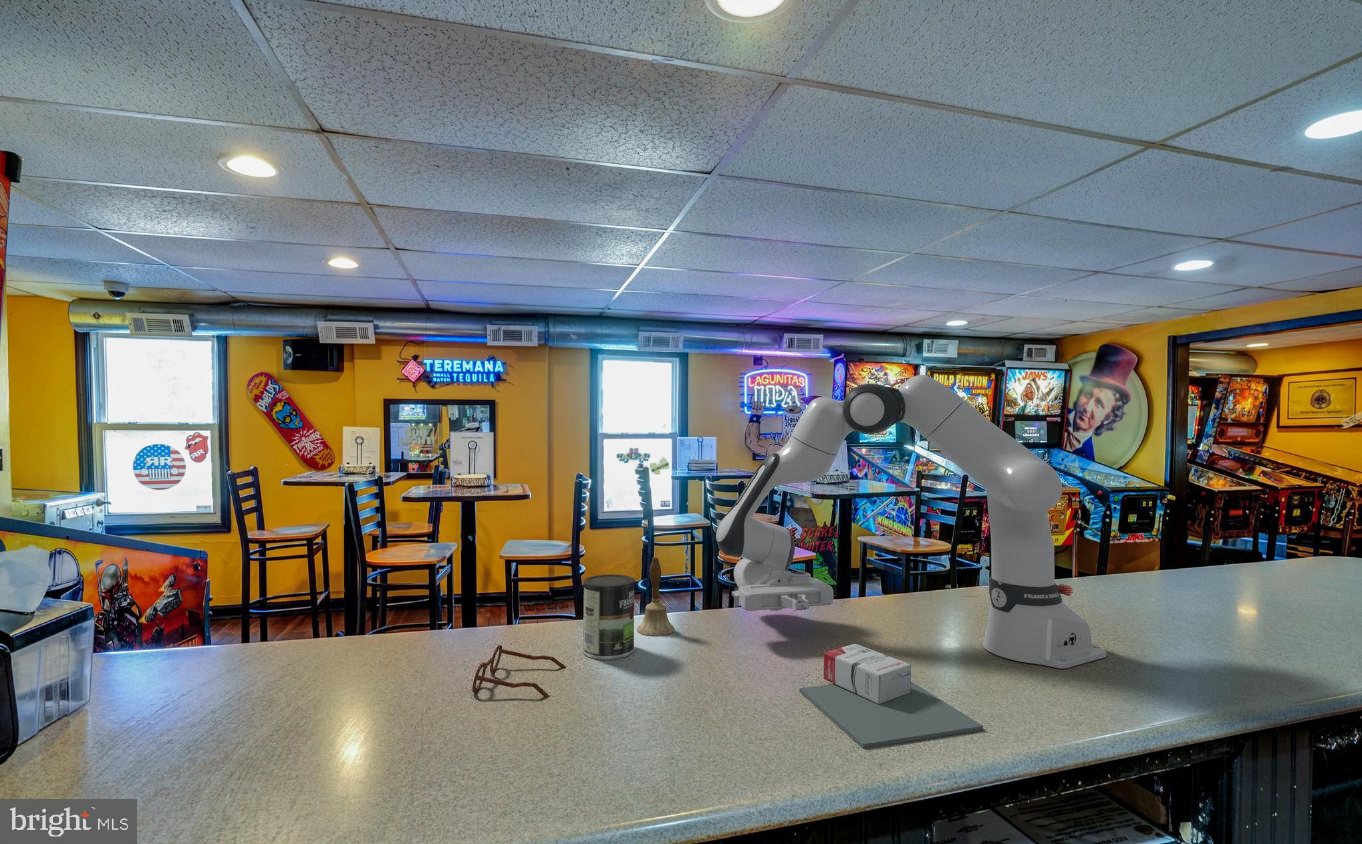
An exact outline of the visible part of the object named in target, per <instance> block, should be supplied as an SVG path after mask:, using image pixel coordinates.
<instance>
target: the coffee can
mask: <svg viewBox="0 0 1362 844" xmlns="http://www.w3.org/2000/svg"><path fill="white" fill-rule="evenodd" d="M635 583H636V580H635V577H632V576H629V575H625V574H615V573H614V574H610V573H609V574H599V575H598V574H597V575H593V576H592V575H591V576H588V577H586V578H584V579H583V581H582V584H583V585H582V586H583V633H582V634H583V643H582V644H583V645H582V646H583V648H582V649H583V650H582V653H583V655H584V656H586V657H587V658H590V659H595V660H603V661H604V660H605V661H612V660H617V659H619V660H620V659H622V658H623V659H624V658H626V657H629V656H631V655H633V653H634V652H635Z"/></svg>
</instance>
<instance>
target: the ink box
mask: <svg viewBox="0 0 1362 844" xmlns="http://www.w3.org/2000/svg"><path fill="white" fill-rule="evenodd" d="M823 679H824V680H825V681H828V682H829V683H831V684H836V685H838V686H840V687H843V688H845V689H847V690H849V691H851V692H853V693H855V694H858V695H860V696H862V697H864V698H866V699H868V700H871V701H873V702H875V703H877V704H881V703H883V702H886V701H889V700H892V699H894V698H897V697H900V696H903V695H905V694H908V693H910V692H911V691H910V689H911V682H912V665H911V663H908V662H905V661H902V660H899V659H897V658H895V657H892V656H889V655H887V654H885V653H881V652H878V651H876V650H873V649H870V648H868V647H865V646H862V645H859V644H858V643H857V644H856V643H853V644H850V645H846V646H843V647H839V648H835V649H829V650H828V651H824V652H823Z"/></svg>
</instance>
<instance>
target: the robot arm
mask: <svg viewBox="0 0 1362 844" xmlns="http://www.w3.org/2000/svg"><path fill="white" fill-rule="evenodd" d="M898 423H904V424H907V425H908V426H910V427H912V428H913V429H914V430H915V431H916V432H918V433H919V434H920V435H921V436H922V437H923V438H924V439H926V441H928V442H929V443H930V444H931V445H933V446H934V448H936V449H937V450H939V452H940V453H942V454H943V455H944V456H945V457H946V458H948V460H950V461H951V462H952V463H953V464H954V465H956V466H957V467H958V468H959V469H961V470H962V471H963V472H965V473H966V474H967V475H968V476H969V477H971V478H972V480H974V481H976V482H977V483H978V484H979V485H980V486H981V487H982V488H984V489H985V490H986V500H987V501H986V502H987V512H988V514H987V515H988V522H989V530H990V551H991V553H990V559H991V561H990V562H991V564H990V565H991V568H990V569H991V571H990V572H991V575H990V576H989V578H988V594H989V598H990V602H989V607H988V609H989V610H988V618H987V625H986V630H985V632H984V640H983V642H982V646H983V648H984V649H985V650H986V651H988V652H990V653H992V654H994V655H996V656H998V657H1001V658H1005V659H1009V660H1012V661H1016V662H1021V663H1027V664H1034V665H1035V664H1036V665H1041V666H1042V665H1043V666H1048V667H1053V668H1056V669H1068V668H1073V667H1074V666H1080V665H1082V664H1087V663H1089V662H1093V661H1096V660H1100V659H1104V658H1106V657H1108V656H1107V651H1106V650H1105V649H1103V648H1102V647H1101V646H1099V645H1096V644H1095V643H1092V642H1093V641H1092V633H1091V628H1090V625H1089V624H1088V622H1087V621H1086V620H1085V619H1084V618H1082V617H1081V616H1080V615H1078V613H1076V612H1075V611H1073V610H1072V609H1071V608H1070V607H1068V605H1066V604H1065V603H1064V601H1063V598H1062V595H1064V596H1066V597H1070V596H1072V594H1073V593H1074V590H1073V587H1072V586H1071V585H1067V584H1066V585H1065V584H1063V583H1060V584H1058V585H1057V584H1056V582H1055V543H1054V538H1053V536H1052V531H1051V525H1050V518H1049V511H1050V510H1052V509H1053V508H1054V507H1055V506H1057V505H1058V503H1059V502H1060V500H1061V498H1062V496H1063V483H1062V480H1061V478H1060V476H1059V474H1058V473H1057V471H1056V470H1055V469H1054V468H1053V466H1051V465H1050V464H1048V463H1047V462H1046V461H1045V460H1043V459H1042V458H1041V457H1039V456H1038V455H1037V454H1035V452H1033V451H1031V450H1030V449H1029V448H1027V447H1026V446H1024V445H1023V444H1022V443H1021V442H1019V441H1017V440H1016V439H1015V438H1014V437H1013V436H1011V435H1010V434H1008V433H1007V432H1005V431H1004V430H1002V429H1001V428H999V427H998V426H997V425H996V424H995V423H993V421H990V420H989V418H987V417H986V416H985V415H984V414H983V413H981V412H980V411H979V410H978V409H977V408H975V407H974V406H973V405H972V404H970V403H969V402H968V401H966V400H965V399H964V398H963V397H961V396H960V395H959V394H958V393H957V392H955V391H954V390H953V389H951V388H949V387H948V386H946V385H945V384H944V383H941V382H940V381H938V380H937V379H935V378H933V377H931V376H929V375H925V374H917V375H914V376H912V377H910V378H909V379H907V380H906V381H904V382H903V383H902V384H901V385H900V386H898V387H897V388H896V387H891V386H886V385H883V384H879V383H875V382H870V383H862V384H859V385H857V386H855V387H854V388H852V389H851V390H850V391H849V392H848V393H847V394H846V396H845V397H844V399H843V400H837V399H834V398H831V397H827V396H826V397H825V396H820V397H816V398H814V399H812V400H811V401H810V402H809V403H808V405H807V406H806V408H805V409H804V411H803V412H802V414H801V415H800V418H799V419H798V420H797V423H796V424H795V426H794V428H793V431H792V433H791V435H790V437H789V438H788V440H787V442H786V443H785V444H784V445H783V446H782V448H780V449H779V450H778V451H777V452H776V451H775V452H774V453H770V454H768V455H767V456H766V457H765V458H764V459H763V460H762V462H761V463H760V465H759V466H758V467H757V468H756V470H755V471H754V473H753V474H752V475H751V478H750V479H749V481H748V482H747V484H746V485H745V487H744V488H743V490H742V492H741V493H740V495H739V496H738V498H737V499H736V500H735V503H734V504H733V505H732V506H731V508H730V509H729V510H728V511H727V513H726V514H725V515H724V516H723V517H722V519H721V520H720V522H719V524H718V525H717V528H716V532H715V541H716V544H717V546H718V548H719V550H720V551H721V553H723V555H725V556H728V557H733V558H739V559H740V558H741V559H740V560H739V561H737V563H736V564H735V566H734V569H733V578H734V581H735V583H736V585H737V587H738V588H737V589H736V590H734V591H733V590H732V591H731V596H732V597H734V598H735V599H738V604H739V606H740V607H741V608H742V609H743V610H744V611H749V612H754V611H755V612H756V611H766V610H767V611H772V612H773V611H774V612H775V611H776V612H777V611H781V610H783V609H791V610H794V611H803V610H804V611H805V610H809V607H817V606H818V607H819V606H831V605H832V604H833V602H834V589H833V587H832V586H831V585H830V584H828V583H826V582H824V581H823V580H820V579H819V578H814V577H812V575H811V573H809V572H804V571H792V570H789V569H790V567H791V565H792V563H793V560H794V556H795V551H796V545H795V542H794V538H793V534H792V533H791V531H790V530H789V529H788V528H787V527H784V526H781V525H779V524H775V523H771V522H767V521H764V520H761V519H758V518H754V517H753V516H754V514H755V513H756V511H758V509H759V507H760V506H761V504H762V502H763V501H764V500H765V498H766V497H767V495H768V494H769V492H771V490H773V489H774V488H777V487H779V486H783V485H787V484H802V483H804V484H805V483H810V482H814V481H817V480H819V479H821V478H823V477H824V476H825V475H826V474H828V472H829V471H830V469H831V468H832V466H833V464H834V461H835V460H836V458H837V455H838V453H839V450H840V448H841V447H842V444H843V443H844V441H845V439H846V437H847V436H848V435H849V434H850V433H852V432H857V433H859V434H861V435H862V434H863V435H876V434H881V433H883V432H885V431H887V430H888V429H890V428H891V427H893V426H894V425H897V424H898Z"/></svg>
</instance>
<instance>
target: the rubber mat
mask: <svg viewBox="0 0 1362 844" xmlns="http://www.w3.org/2000/svg"><path fill="white" fill-rule="evenodd" d="M910 691H911V692H910V693H908V694H905V695H903V696H900V697H897V698H894V699H892V700H889V701H886V702H883V703H881V704H877V703H875V702H873V701H871V700H868V699H866V698H864V697H862V696H860V695H858V694H855V693H853V692H851V691H849V690H847V689H845V688H843V687H840V686H838V685H836V684H834V683H830V684H823V685H816V686H815V685H814V686H813V685H812V686H807V687H799V693H800V692H801V693H800V694H801V695H802V696H803V697H804V698H806V697H807V698H806V699H807V700H808V699H809V700H810V701H811V704H813V706H815V708H817V707H818V708H819V709H820V710H819V709H818V708H817V709H818V710H819V711H820V712H822V713H823V714H824V716H825V717H827V718H828V717H829V718H828V719H829V720H830V721H831V722H833V723H834V725H836V726H837V727H838V728H840V729H841V730H842V731H843V732H844V733H845V734H846V735H847V736H849V738H851V739H852V741H853V742H855V743H856V744H857V745H859V747H861V748H862V749H870V748H876V747H881V746H889V745H895V744H903V743H909V742H915V741H920V740H927V739H934V738H939V737H941V738H942V737H945V736H946V737H948V736H953V735H959V734H960V735H961V734H967V733H972V732H981V731H984V725H983V724H981V723H980V722H978V721H976V720H974V719H973V718H971V717H969V716H968V715H966V714H964V712H962V711H960V710H958V709H957V708H956V707H954V706H952V705H950V704H949V703H948V702H946V701H944V700H942V699H941V698H939V697H937V696H936V695H934V694H932V693H931V692H929V691H927V690H926V689H924V688H923V687H921V686H920V685H918V684H916V683H915V682H913V681H911V689H910ZM809 700H808V701H809ZM810 701H809V702H810Z"/></svg>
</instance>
